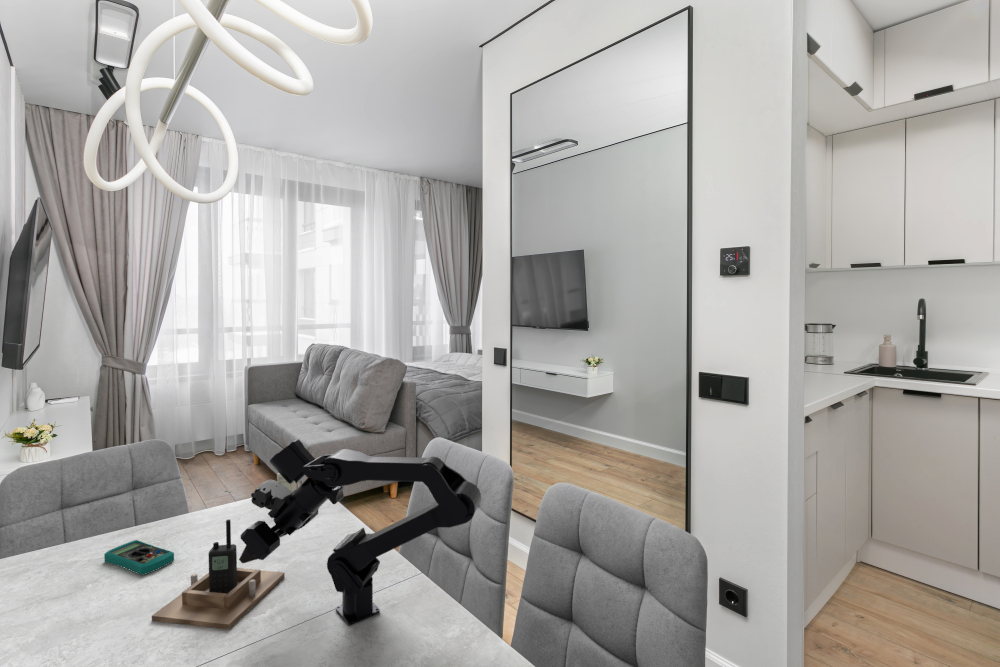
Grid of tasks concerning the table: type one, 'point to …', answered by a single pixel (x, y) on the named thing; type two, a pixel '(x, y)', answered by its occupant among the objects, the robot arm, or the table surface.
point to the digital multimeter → (139, 556)
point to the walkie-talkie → (223, 565)
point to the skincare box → (291, 486)
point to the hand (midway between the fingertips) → (256, 549)
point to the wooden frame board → (218, 600)
